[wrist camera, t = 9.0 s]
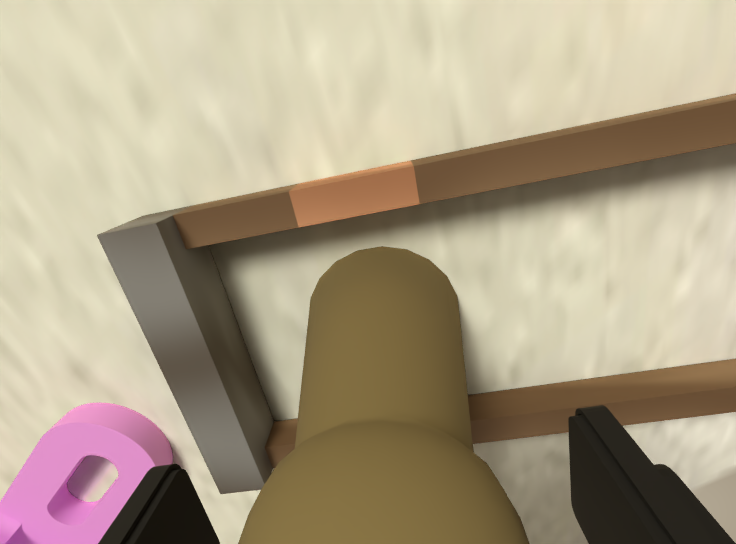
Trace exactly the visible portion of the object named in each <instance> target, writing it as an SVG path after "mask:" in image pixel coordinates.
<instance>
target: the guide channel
mask: <svg viewBox="0 0 736 544" xmlns="http://www.w3.org/2000/svg"><path fill="white" fill-rule="evenodd" d="M733 143H736V94H731V95H726V96H722V97H717V98H712V99H707V100H702V101H697V102H692V103H688V104H683V105H678V106H673V107H668V108H663V109H659V110H654V111H649V112H644V113H639V114H634V115H630V116H625V117H620V118H615V119H610V120H605V121H600V122H596V123H591V124H586V125H581V126H576V127H571V128H567V129H562V130H557V131H552V132H547V133H542V134H537V135H533V136H528V137H523V138H518V139H513V140H508V141H504V142H499V143H494V144H489V145H484V146H479V147H474V148H470V149H465V150H460V151H455V152H450V153H445V154H441V155H436V156H431V157H426V158H421V159H416V160H411V161H407V162H402V163H397V164H392V165H387V166H382V167H378V168H373V169H368V170H363V171H358V172H353V173H348V174H344V175H339V176H334V177H329V178H324V179H319V180H315V181H310V182H305V183H300V184H295V185H290V186H285V187H281V188H276V189H271V190H266V191H261V192H256V193H252V194H247V195H242V196H237V197H232V198H227V199H222V200H218V201H213V202H208V203H203V204H198V205H193V206H189V207H184V208H179V209H174V210H169V211H164V212H159V213H155V214H150V215H145V216H142V217H139V218H137V219H134V220H132V221H130V222H127V223H125V224H122V225H120V226H118V227H115V228H113V229H110V230H108V231H106V232H103V233H101V234H98V235H97V236H98V239H99V241H100V243H101V245H102V247H103V249H104V251H105V253H106V255H107V257H108V259H109V262H110V264H111V266H112V268H113V270H114V272H115V274H116V276H117V278H118V280H119V282H120V285H121V287H122V289H123V291H124V293H125V295H126V297H127V299H128V301H129V303H130V306H131V308H132V310H133V312H134V314H135V316H136V318H137V320H138V322H139V324H140V326H141V329H142V331H143V333H144V335H145V337H146V339H147V341H148V343H149V345H150V347H151V349H152V352H153V354H154V356H155V358H156V360H157V362H158V364H159V366H160V368H161V370H162V372H163V375H164V377H165V379H166V381H167V383H168V385H169V387H170V389H171V391H172V393H173V396H174V398H175V400H176V402H177V404H178V406H179V408H180V410H181V412H182V414H183V416H184V419H185V421H186V423H187V425H188V427H189V429H190V431H191V433H192V435H193V437H194V439H195V442H196V444H197V446H198V448H199V450H200V452H201V454H202V456H203V458H204V460H205V462H206V465H207V467H208V469H209V471H210V473H211V475H212V477H213V479H214V481H215V483H216V486H217V488H218V490H219V492H220V494H226V493H235V492H244V491H252V490H261V489H262V487H263V486H264V484H265V483H266V481H267V480H268V478H269V477H270V475H271V472H272V469H273V468H275V467H276V466H277V464H278V463H279V462H280V461H281V460H282V459H283V458H284V457H286V456H287V455H288V454H289V453H290V452H291V451H293V450H294V449H295V441H296V431H297V422H298V419H290V420H283V421H276V422H274V421H273V418H272V415H271V413H270V410H269V407H268V405H267V402H266V399H265V396H264V394H263V391H262V388H261V386H260V383H259V380H258V378H257V375H256V372H255V370H254V367H253V364H252V362H251V359H250V356H249V354H248V351H247V348H246V346H245V343H244V340H243V338H242V335H241V332H240V329H239V327H238V324H237V321H236V319H235V316H234V313H233V311H232V308H231V305H230V303H229V300H228V297H227V295H226V292H225V289H224V287H223V284H222V281H221V279H220V276H219V273H218V270H217V268H216V265H215V262H214V260H213V257H212V254H211V252H210V249H209V246H208V245H211V244H216V243H221V242H227V241H232V240H237V239H242V238H247V237H252V236H258V235H263V234H268V233H273V232H278V231H283V230H289V229H294V228H299V227H304V226H309V225H314V224H320V223H325V222H330V221H335V220H340V219H345V218H351V217H356V216H361V215H366V214H371V213H377V212H382V211H387V210H392V209H397V208H402V207H408V206H413V205H418V204H423V203H428V202H433V201H439V200H444V199H449V198H454V197H459V196H464V195H470V194H475V193H480V192H485V191H490V190H496V189H501V188H506V187H511V186H516V185H521V184H527V183H532V182H537V181H542V180H547V179H552V178H558V177H563V176H568V175H573V174H578V173H583V172H589V171H594V170H599V169H604V168H609V167H614V166H620V165H625V164H630V163H635V162H640V161H646V160H651V159H656V158H661V157H666V156H671V155H677V154H682V153H687V152H692V151H697V150H702V149H708V148H713V147H718V146H723V145H728V144H733ZM468 404H469V414H470V423H471V433H472V443H473V444H476V443H484V442H492V441H500V440H509V439H517V438H525V437H533V436H541V435H549V434H558V433H566V432H569V426H568V418H569V417H570V416H575V411H576V409H578V408H585V407H592V406H599V405H604V406H606V407H607V408H608V409H609V410H610V412H611V413H612V414H613V415H614V417H615V418H616V419H617V420H618V422H619V423H620V424H621V425H622V426H623V425H631V424H639V423H647V422H656V421H664V420H672V419H680V418H688V417H696V416H705V415H713V414H721V413H729V412H736V359H730V360H723V361H716V362H708V363H701V364H694V365H686V366H679V367H672V368H664V369H657V370H650V371H642V372H635V373H628V374H620V375H613V376H606V377H598V378H591V379H584V380H576V381H569V382H562V383H554V384H547V385H540V386H532V387H525V388H518V389H510V390H503V391H496V392H488V393H481V394H474V395H468Z"/></svg>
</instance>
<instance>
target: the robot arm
mask: <svg viewBox="0 0 736 544" xmlns="http://www.w3.org/2000/svg"><path fill="white" fill-rule="evenodd" d="M568 426H569V452H570V478H571V501H572V507H573V511H574V514H575V516H576V519H577V521H578V523H579V525H580V527H581V529H582V531H583V533H584V535H585V537H586V539H587V541H588V543H589V544H736V543H735V542H734V541H733V540H732V539H731V538H730V537H729V535H728V534H727V533H726V532H725V530H724V529H723V528H722V527H721V526H720V525H719V523H718V522H717V521H716V520H715V519H714V518H713V516H712V515H711V514H710V513H709V512H708V511H707V509H706V508H705V507H704V506H703V505H702V504H701V503H700V501H699V500H698V499H697V498H696V497H695V495H694V494H693V493H692V492H691V491H690V490H689V488H688V487H687V486H686V485H685V484H684V483H683V481H682V480H681V479H680V478H679V477H678V476H677V474H676V473H675V472H673V471H672V470H671V469H670V468H669V467H667V466H666V465H664V464H657V465H653V463H652V462H651V461H650V460H649V459H648V457H647V456H646V455H645V454H644V452H643V451H642V450H641V449H640V447H639V446H638V445H637V444H636V443H635V441H634V440H633V439H632V438H631V436H630V435H629V434H628V433H627V431H626V430H625V429H624V428H623V426H622V425H621V424H620V423H619V422H618V420H617V419H616V418H615V417H614V415H613V414H612V413H611V412H610V410H609V409H608V408H607V407H606V406H604V405H599V406H592V407H585V408H578V409H576V411H575V416H570V417H569V418H568ZM98 544H220V542H219V539H218V537H217V535H216V533H215V531H214V529H213V527H212V525H211V522H210V520H209V518H208V516H207V514H206V512H205V510H204V508H203V505H202V503H201V501H200V499H199V497H198V495H197V493H196V490H195V488H194V486H193V484H192V482H191V480H190V478H189V476H188V473H187V472H186V470H184V469H181V467H180V466H179V465H178V464H170V465H162V466H155V467H152V468H151V469H150V470H149V471H148V472H147V473H146V474H145V476H144V477H143V479H142V480H141V482H140V483H139V485H138V486H137V488H136V489H135V490H134V492H133V493H132V495H131V496H130V498H129V499H128V501H127V502H126V504H125V505H124V506H123V508H122V509H121V511H120V512H119V514H118V515H117V517H116V518H115V520H114V521H113V522H112V524H111V525H110V527H109V528H108V530H107V531H106V533H105V534H104V536H103V537H102V538H101V540H100V541H99V543H98Z"/></svg>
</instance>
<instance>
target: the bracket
mask: <svg viewBox="0 0 736 544" xmlns="http://www.w3.org/2000/svg"><path fill="white" fill-rule="evenodd" d="M88 455H97V456H101V457H103V458H106V459H108V460H109V461H110V462H112V463H113V464H114V465H115V466H116V468H117V470H118V474H119V475H118V478H117V479H116V480H115V481H114V483H113V484H112V485H111V486H110V488H109V489H108V490H107V492H106V493H105V494H104V495H103V497H102V498H101V499H100V500H98V501H95V502H85V501H82V500H79V499H77V498H76V497H74V496H73V495H72V494H71V493H70V492H69V491H68V489H67V482H68V480H69V479H70V477H71V476H72V475H73V473H74V472H75V470H76V469H77V468H78V466H79V465H80V463H81V462H82V461H83V459H84V458H85V457H86V456H88ZM172 463H173V454H172V449H171V446H170V444H169V442H168V440H167V438H166V436H165V435H164V434H163V432H162V431H161V430H160V429H159V428H158V427H157V426H156V425H155V424H154V423H153V422H152V421H150V420H149V419H148V418H146V417H145V416H143V415H141V414H140V413H138V412H136V411H134V410H131V409H129V408H126V407H123V406H120V405H116V404H110V403H89V404H84V405H81V406H78V407H76V408H74V409H72V410H70V411H69V412H68V413H67V414H66V415H65V416H63V417H62V418H61V419H60V420H59V421H58V422H57V423H56V424H55V425H54V426H53V427H52V428H51V429H50V430H49V431H47V432H46V433H45V434H44V435H43V436H42V438H41V439H40V441H39V442H38V444H37V445H36V447H35V448H34V450H33V451H32V453H31V455H30V456H29V458H28V459H27V461H26V462H25V464H24V466H23V467H22V469H21V470H20V472H19V473H18V475H17V477H16V478H15V480H14V481H13V483H12V484H11V486H10V487H9V489H8V491H7V492H6V494H5V495H4V497H3V498H2V500H1V502H0V544H98V543H99V541H100V540H101V538H102V537H103V536H104V534H105V533H106V531H107V530H108V528H109V527H110V525H111V524H112V522H113V521H114V520H115V518H116V517H117V515H118V514H119V512H120V511H121V509H122V508H123V506H124V505H125V504H126V502H127V501H128V499H129V498H130V496H131V495H132V493H133V492H134V490H135V489H136V488H137V486H138V485H139V483H140V482H141V480H142V479H143V477H144V476H145V474H146V473H147V472H148V471H149V470H150V469H151V468H152V467H155V466H162V465H170V464H172Z"/></svg>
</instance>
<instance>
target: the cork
mask: <svg viewBox="0 0 736 544" xmlns="http://www.w3.org/2000/svg"><path fill="white" fill-rule="evenodd" d="M238 544H529V541H528V538H527V536H526V533H525V530H524V527H523V524H522V522H521V519H520V517H519V515H518V513H517V512H516V510H515V508H514V506H513V505H512V503H511V501H510V500H509V498H508V496H507V495H506V493H505V491H504V489H503V488H502V486H501V485H500V483H499V482H498V480H497V478H496V477H495V475H494V474H493V472H492V471H491V469H490V467H489V466H488V464H487V463H486V462H484V461H483V460H482V459H481V458H480V457H478V456H477V455H476V454H475V453H473V443H472V433H471V423H470V414H469V404H468V394H467V384H466V374H465V365H464V355H463V345H462V335H461V325H460V316H459V308H458V299H457V295H456V293H455V291H454V289H453V287H452V285H451V283H450V281H449V279H448V277H447V276H446V275H445V274H444V273H443V272H442V271H441V270H440V269H439V268H438V267H437V266H435V265H434V264H433V263H432V262H431V261H430V260H429V259H426V258H424V257H422V256H420V255H418V254H416V253H413V252H411V251H409V250H406V249H398V248H390V247H383V246H382V247H376V248H370V249H364V250H359V251H356V252H354V253H352V254H350V255H348V256H346V257H344V258H342V259H340V260H338V261H336V262H335V263H334V264H333V265H332V266H331V267H330V268H329V269H328V270H327V271H326V272H325V273H324V274H323V275H322V277H321V278H320V279H319V281H318V283H317V285H316V288H315V290H314V292H313V294H312V296H311V300H310V310H309V319H308V328H307V338H306V347H305V357H304V366H303V375H302V385H301V394H300V403H299V413H298V422H297V431H296V441H295V449H294V450H293V451H291V452H290V453H289V454H288V455H287V456H286V457H284V458H283V459H282V460H281V461H280V462H279V463H278V464H277V466H276V467H275V469H274V470H273V472H272V473H271V475H270V477H269V478H268V480H267V481H266V483H265V484H264V486H263V487H262V489H261V491H260V493H259V495H258V497H257V499H256V501H255V503H254V505H253V507H252V509H251V511H250V513H249V515H248V518H247V521H246V523H245V526H244V529H243V532H242V535H241V537H240V540H239V543H238Z"/></svg>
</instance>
